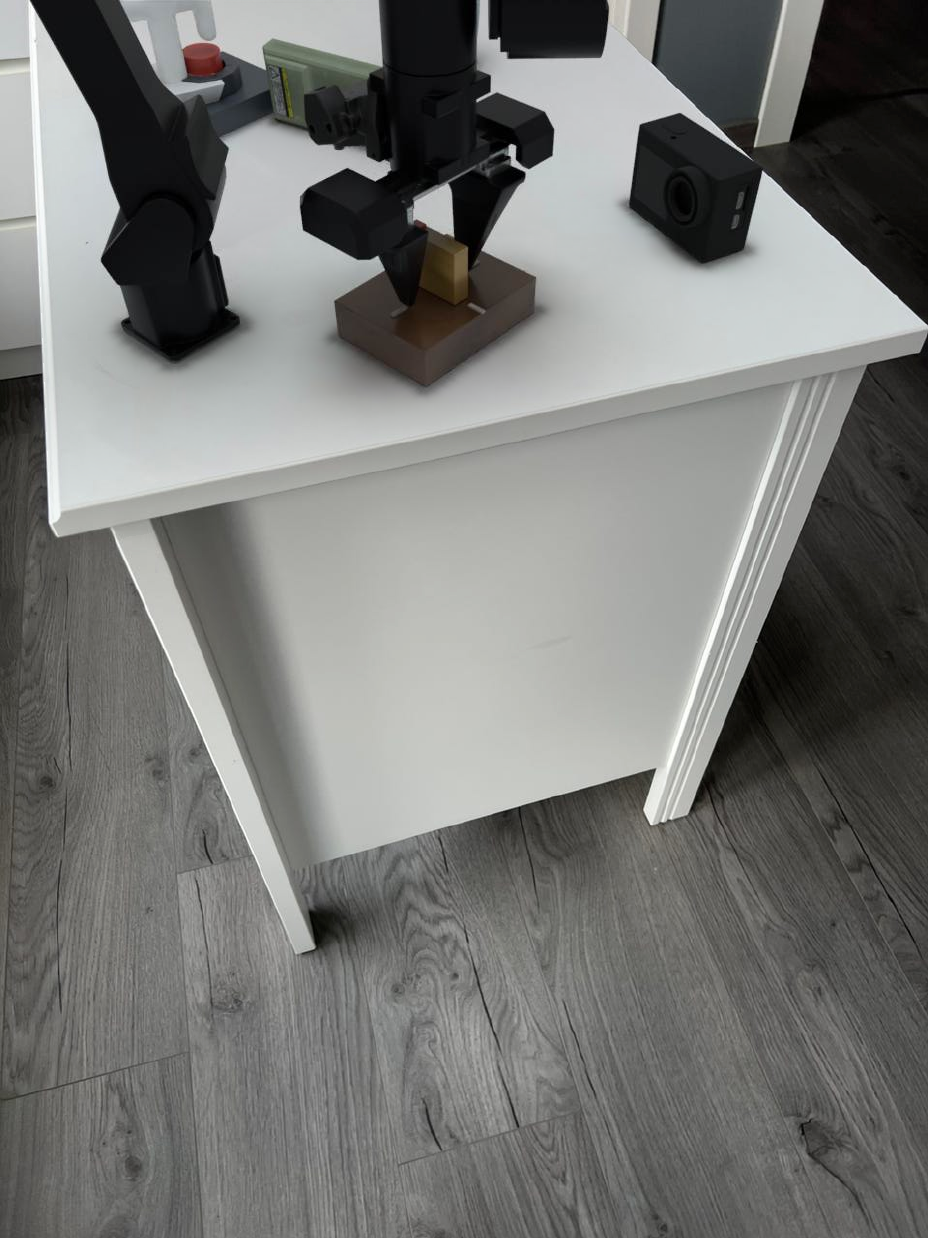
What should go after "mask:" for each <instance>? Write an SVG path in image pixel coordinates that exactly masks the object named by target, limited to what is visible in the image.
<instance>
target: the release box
mask: <svg viewBox="0 0 928 1238" xmlns="http://www.w3.org/2000/svg"><path fill="white" fill-rule="evenodd" d="M220 52H221V58H222V63H223V70H222V71H220V72H218V73H215V74H212V75H205V76H194V75H188V74H187V78H185V79H183V80H181V81H182V82H191V83H205V82H212V81H218V80H222V81H223V82H224V83H225V84H224V87H223V90H222V93H221V96H220V99H219V101H216V102H212V103H208V104H206V107H207V111H208V114H209V117H210V121H211V123H212V126H213V128H214V130H215V132H216V133H217V135H218V137H219V138H221V137H223V136H225V135H228V134H230V133H231V132H234V131H236V130H238V129H240V128H242V127H244V126H246V125H249V124H251V123H253V122H256V121H259V120H260V119H262V118H264V117H267V116H269V115H270V114H274V112H273V106H272V101H271V95H270V89H269V84H268V78H267V72H266V68H265V69H264V68H263V67H260V66H258V65H255V64H253V63H252V62H251V63H250V62H248V61H246V60H244V59H241V58H239V57H238V56H234V55H233V54H230V53H228V52H226V51H224V50H221V51H220Z"/></svg>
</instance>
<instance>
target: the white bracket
mask: <svg viewBox="0 0 928 1238" xmlns="http://www.w3.org/2000/svg"><path fill="white" fill-rule="evenodd" d="M119 1H120V3H121V5H122V7H123V9H124V11H125V13H126V15H127V17H128V19H129V21H130V23H131V24H132V23H137V22H143V21H146V24H147V29H148V32H149V33H148V34H149V37H150V42H151V45H152V50H153V55H154V59H155V62H156V63H151V65H152V67H153V69H154V71H155V73H156V75H157V77H158V78H159V79H160V81H161V82H162V83H163V85H164V86H165V87H167V88H168V89H169V90H170V91H171V92H172V93H173V94H174V95H175V96H176V97H177V98H179V99H180V100H181V101H182V102H185V101H187V100H189V99H190V98H192V97H194V96H196V95H201V96H202V98H203V100H204V102H205V104H208V103H212V102H216V101H219V99H220V96H221V93H222V90H223V87H224V84H225V83H224V82H223V81H222V80H218V81H212V82H205V83H191V82H182V81H181V80H183V79H185V78H187V74H188V73H187V71H186V66H185V61H184V56H183V52H182V49H183V48H182V42H181V38H180V33H179V28H178V24H177V18H176V16H177V14H180V13H185V12H189V11H192V14H193V19H194V22H195V27H196V32H197V35H198V36H199V37H200V38H201V39H202V40H203V41H207V42H212V41H214V40H215V39H216V38H217V27H216V21H215V15H214V10H213V4H212V0H119ZM214 74H215V73H214ZM188 75H191V74H188ZM211 75H212V74H211ZM194 76H195V75H194Z"/></svg>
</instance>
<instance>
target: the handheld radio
mask: <svg viewBox="0 0 928 1238" xmlns="http://www.w3.org/2000/svg"><path fill="white" fill-rule="evenodd" d="M261 49H262V55H263V59H264V66H265V70H266V72H267V78H268V84H269V89H270V95H271V101H272V106H273V117H274V118H275V119H276V120H278V121H282V122H284V123H288V124H291V125H295V126H297V127H301V128H304V129H308V128H307V125H306V122H305V112H304V94H305V93H308V92H310V91H312V90H314V89H317V88H319V87H321V86H325V87H326V88H327V87H329V86H331V85H337V86H338V87H339V89H340V90H342V89H344V88H346V87H349V86H351V85H353V84H355V83H357V82H360V81H363V80H366V79H368V77H369V73H371V72H373V71H375V70H378V69H380V68H382V67H383V65H382V66H381V65H377V64H374V63H369V62H365V61H361V60H358V59H354V58H350V57H346V56H342V55H338V54H335V53H331V52H327V51H323V50H319V49H315V48H311V47H308V46H304V45H300V44H296V43H292V42H289V41H284V40H280V39H277V38H273V37H272V38H271V39H269V40H268V41H267V42H266V43H265V44H263V45H262V46H261Z"/></svg>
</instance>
